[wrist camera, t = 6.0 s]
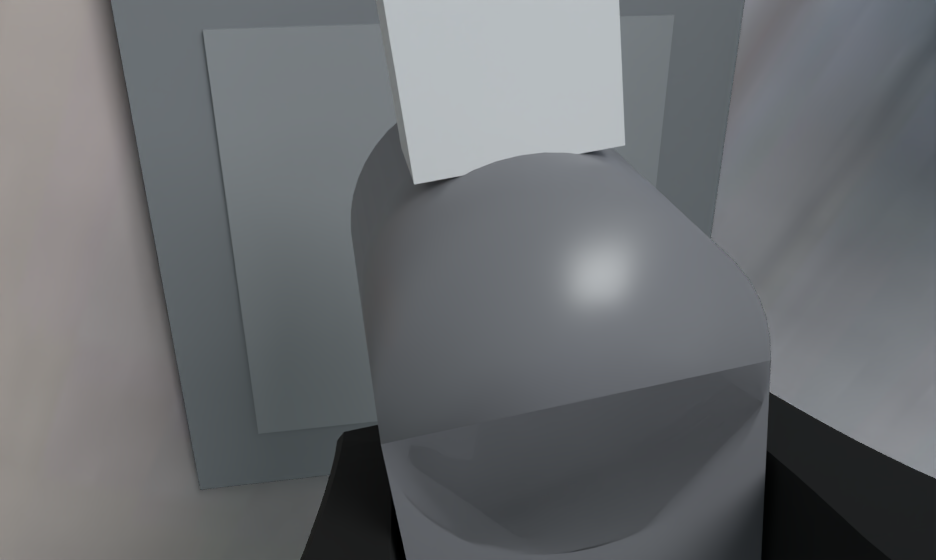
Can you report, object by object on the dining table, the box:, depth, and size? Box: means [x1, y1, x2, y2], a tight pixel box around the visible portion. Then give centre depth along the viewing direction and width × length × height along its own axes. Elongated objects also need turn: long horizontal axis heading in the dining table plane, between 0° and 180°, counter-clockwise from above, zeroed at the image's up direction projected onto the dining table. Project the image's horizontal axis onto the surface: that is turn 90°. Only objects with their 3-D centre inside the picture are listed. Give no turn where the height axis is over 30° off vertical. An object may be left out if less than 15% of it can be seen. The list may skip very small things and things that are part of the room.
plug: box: [351, 0, 771, 560], centre depth 11 cm, size 11×4×4 cm, turn 7°
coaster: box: [111, 0, 745, 490], centre depth 18 cm, size 12×12×1 cm
